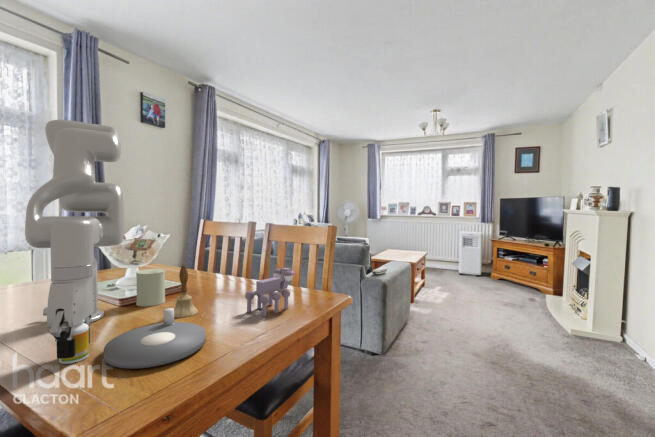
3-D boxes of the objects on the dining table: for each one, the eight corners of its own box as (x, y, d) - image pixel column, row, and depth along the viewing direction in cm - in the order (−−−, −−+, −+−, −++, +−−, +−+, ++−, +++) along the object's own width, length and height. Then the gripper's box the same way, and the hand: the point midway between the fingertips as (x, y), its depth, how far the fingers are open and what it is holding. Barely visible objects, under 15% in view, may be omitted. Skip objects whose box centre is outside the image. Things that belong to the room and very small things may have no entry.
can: (144, 308, 105) (144, 273, 104) (130, 303, 110) (130, 270, 109) (170, 301, 113) (170, 269, 112) (156, 297, 117) (156, 266, 117)
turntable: (83, 373, 63) (83, 347, 63) (126, 330, 85) (126, 310, 84) (197, 362, 68) (197, 338, 68) (211, 324, 90) (211, 305, 90)
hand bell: (187, 319, 96) (187, 268, 95) (164, 316, 98) (164, 267, 97) (203, 310, 104) (203, 263, 103) (181, 308, 106) (181, 262, 105)
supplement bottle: (94, 356, 72) (93, 315, 71) (66, 366, 67) (66, 323, 66) (81, 351, 74) (80, 311, 74) (53, 361, 69) (53, 318, 69)
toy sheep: (284, 298, 119) (286, 263, 118) (305, 305, 113) (307, 269, 112) (242, 311, 104) (244, 271, 103) (263, 320, 97) (265, 278, 96)
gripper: (75, 265, 77) (76, 336, 78) (26, 282, 60) (27, 372, 61) (109, 265, 79) (109, 334, 79) (70, 281, 62) (71, 368, 63)
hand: (74, 350), depth 70 cm, fingers closed on supplement bottle, 5 cm apart
